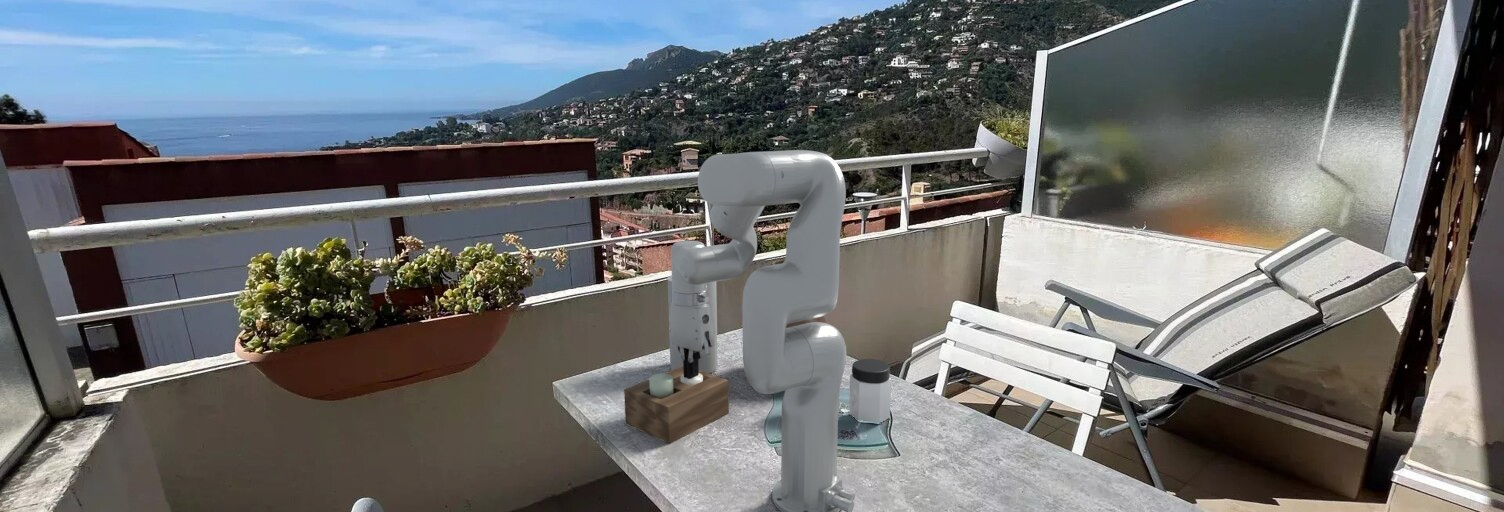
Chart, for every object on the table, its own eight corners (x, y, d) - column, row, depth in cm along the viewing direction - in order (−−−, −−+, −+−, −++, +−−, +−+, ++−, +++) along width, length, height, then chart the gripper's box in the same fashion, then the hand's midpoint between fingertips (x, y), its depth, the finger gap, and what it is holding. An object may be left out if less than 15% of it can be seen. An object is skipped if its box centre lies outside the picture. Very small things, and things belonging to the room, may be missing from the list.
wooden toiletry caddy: (728, 413, 143) (728, 380, 142) (669, 443, 130) (668, 407, 128) (685, 396, 152) (684, 365, 151) (625, 423, 139) (624, 389, 137)
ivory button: (707, 392, 144) (707, 376, 143) (692, 400, 140) (691, 383, 139) (692, 387, 147) (691, 370, 146) (676, 394, 143) (675, 377, 142)
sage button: (678, 394, 136) (677, 377, 136) (660, 402, 133) (660, 384, 132) (662, 388, 140) (662, 371, 139) (645, 396, 136) (644, 378, 135)
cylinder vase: (721, 375, 165) (719, 282, 160) (672, 379, 162) (669, 284, 157) (713, 358, 177) (712, 271, 172) (668, 362, 174) (665, 273, 169)
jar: (843, 410, 145) (845, 360, 142) (875, 405, 147) (877, 356, 145) (861, 427, 136) (863, 375, 134) (895, 422, 139) (897, 370, 136)
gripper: (726, 300, 137) (727, 380, 141) (678, 288, 146) (680, 363, 150) (702, 307, 131) (703, 390, 135) (653, 295, 141) (656, 373, 145)
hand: (691, 376), depth 143 cm, fingers closed
